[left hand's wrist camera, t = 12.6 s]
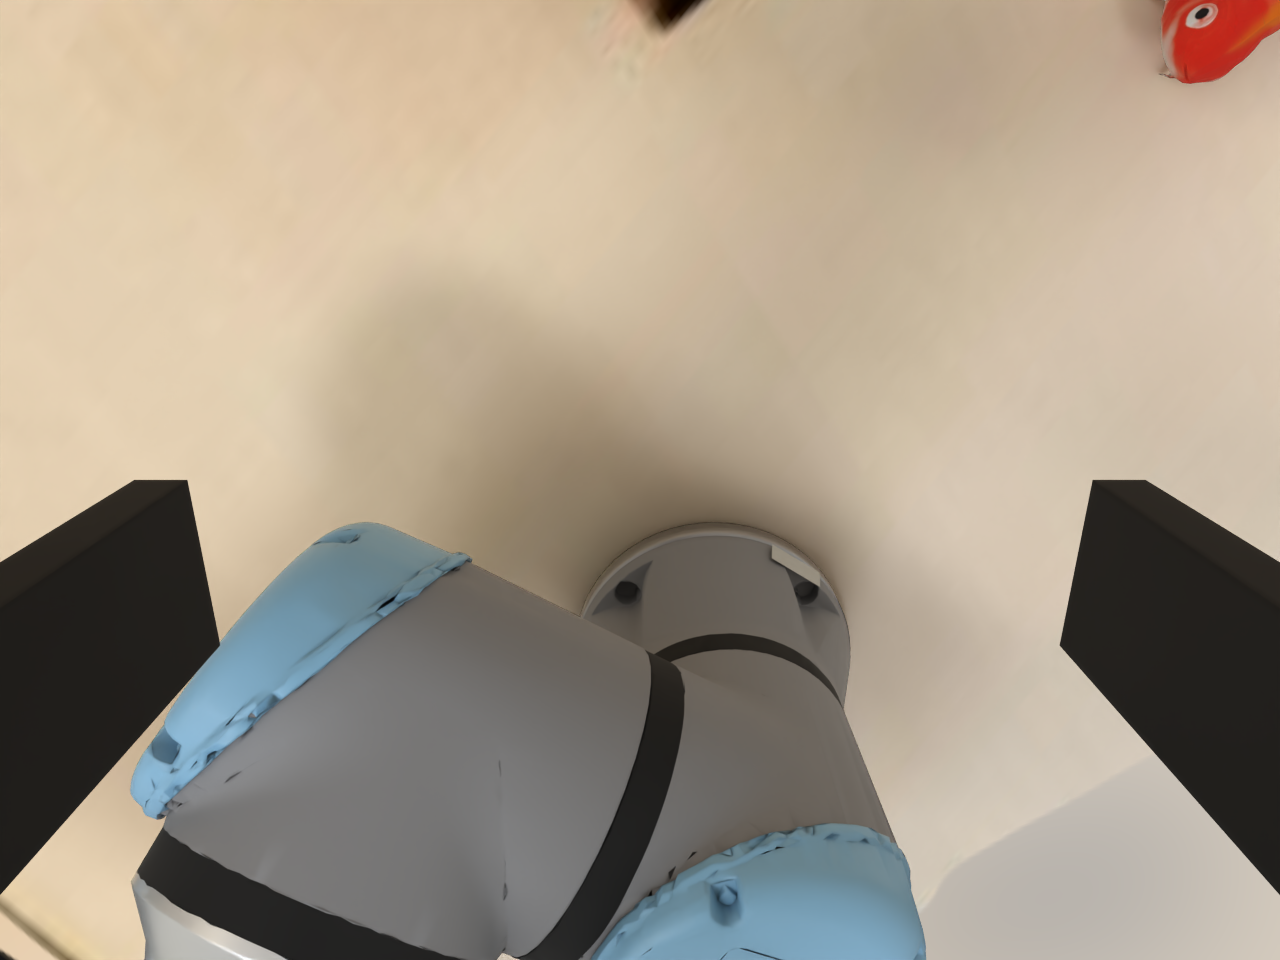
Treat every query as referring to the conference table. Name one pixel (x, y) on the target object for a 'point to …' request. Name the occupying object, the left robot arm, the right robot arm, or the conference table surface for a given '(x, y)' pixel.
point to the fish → (1213, 35)
